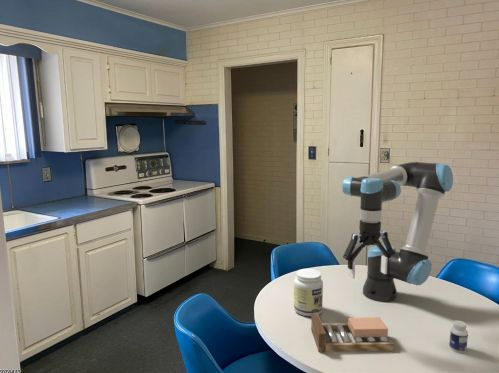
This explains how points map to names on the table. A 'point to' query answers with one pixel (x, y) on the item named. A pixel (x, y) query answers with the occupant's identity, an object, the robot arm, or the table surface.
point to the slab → (367, 327)
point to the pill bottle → (458, 337)
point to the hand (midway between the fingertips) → (368, 275)
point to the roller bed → (345, 337)
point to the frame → (322, 346)
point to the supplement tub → (308, 292)
